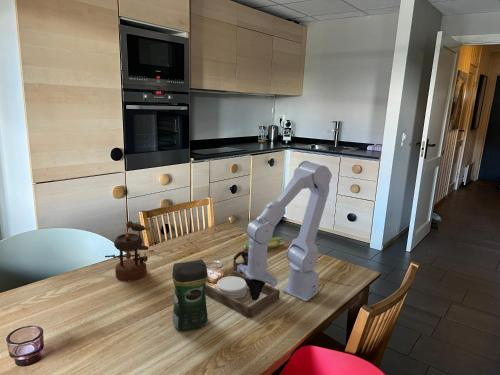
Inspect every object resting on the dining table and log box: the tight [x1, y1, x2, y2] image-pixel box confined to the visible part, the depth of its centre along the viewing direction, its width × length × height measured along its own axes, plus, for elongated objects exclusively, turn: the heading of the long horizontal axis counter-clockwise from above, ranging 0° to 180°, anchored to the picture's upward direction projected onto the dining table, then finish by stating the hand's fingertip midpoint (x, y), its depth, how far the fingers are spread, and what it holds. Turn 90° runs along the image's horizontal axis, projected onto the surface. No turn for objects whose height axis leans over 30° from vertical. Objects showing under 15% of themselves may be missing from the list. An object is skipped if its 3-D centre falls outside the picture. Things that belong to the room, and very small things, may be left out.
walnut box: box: [205, 269, 281, 319], centre depth 118 cm, size 20×15×3 cm
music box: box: [104, 220, 151, 282], centre depth 126 cm, size 15×11×20 cm
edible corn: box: [243, 236, 282, 250], centre depth 157 cm, size 5×20×5 cm
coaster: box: [216, 275, 248, 300], centre depth 120 cm, size 10×10×4 cm
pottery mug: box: [232, 248, 249, 271], centre depth 138 cm, size 12×10×8 cm
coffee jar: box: [171, 258, 209, 332], centre depth 101 cm, size 10×8×19 cm
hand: (255, 299), depth 114 cm, fingers closed
